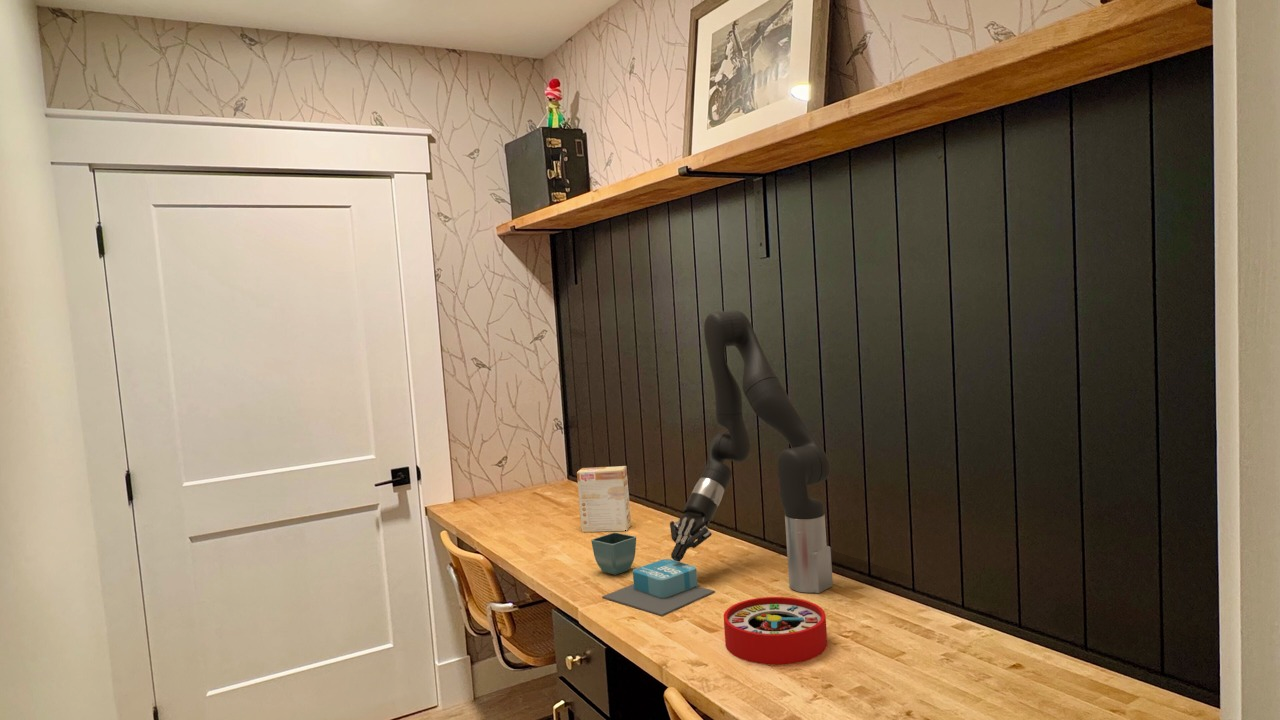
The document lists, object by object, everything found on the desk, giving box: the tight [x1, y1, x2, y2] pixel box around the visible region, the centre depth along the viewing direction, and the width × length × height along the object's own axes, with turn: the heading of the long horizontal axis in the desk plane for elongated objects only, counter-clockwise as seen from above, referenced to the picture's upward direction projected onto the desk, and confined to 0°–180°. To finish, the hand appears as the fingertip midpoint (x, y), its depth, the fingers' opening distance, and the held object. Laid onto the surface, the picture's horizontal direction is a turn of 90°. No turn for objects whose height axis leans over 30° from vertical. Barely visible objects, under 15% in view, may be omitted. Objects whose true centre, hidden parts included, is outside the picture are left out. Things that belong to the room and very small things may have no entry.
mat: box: [601, 583, 716, 617], centre depth 188 cm, size 20×18×1 cm
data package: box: [632, 558, 698, 598], centre depth 192 cm, size 12×4×12 cm
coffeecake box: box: [576, 465, 632, 533], centre depth 251 cm, size 15×7×20 cm, turn 80°
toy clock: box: [723, 596, 828, 666], centre depth 156 cm, size 20×6×20 cm
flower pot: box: [590, 531, 637, 576], centre depth 208 cm, size 9×9×9 cm
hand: (675, 559), depth 194 cm, fingers closed
